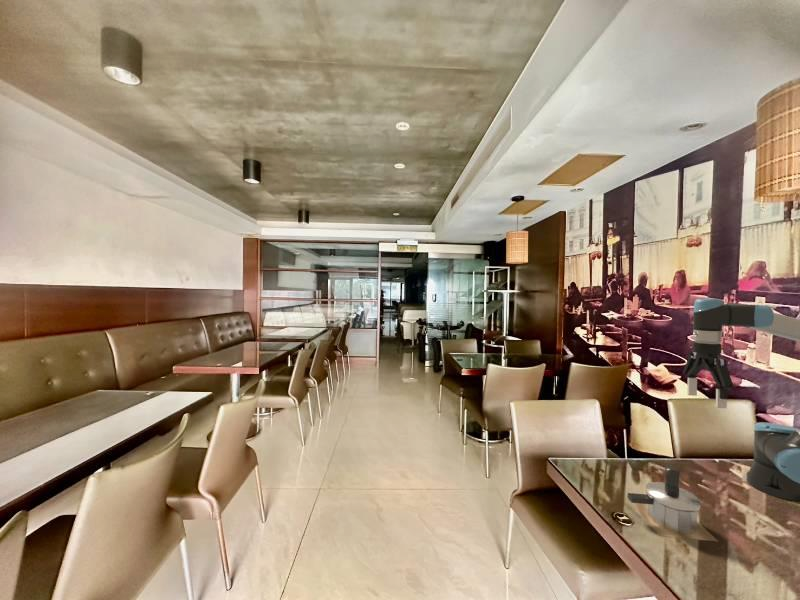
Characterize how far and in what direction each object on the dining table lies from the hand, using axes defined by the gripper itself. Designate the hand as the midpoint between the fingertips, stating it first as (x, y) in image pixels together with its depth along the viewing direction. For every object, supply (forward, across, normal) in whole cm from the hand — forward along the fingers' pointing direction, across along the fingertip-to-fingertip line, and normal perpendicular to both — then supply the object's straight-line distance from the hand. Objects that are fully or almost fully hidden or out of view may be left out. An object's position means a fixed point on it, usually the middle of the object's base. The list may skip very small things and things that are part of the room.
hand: (705, 401), depth 118 cm
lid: (+24, +21, -23) cm, 39 cm away
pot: (+31, +21, -26) cm, 46 cm away
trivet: (+32, +21, -23) cm, 44 cm away
